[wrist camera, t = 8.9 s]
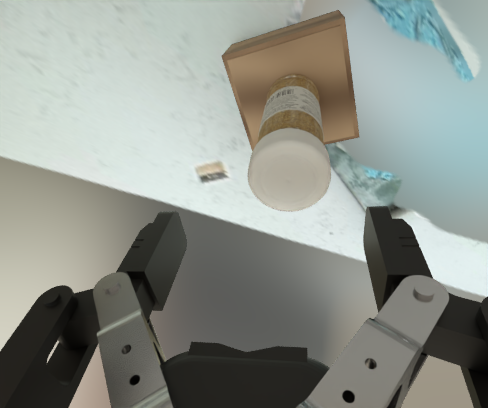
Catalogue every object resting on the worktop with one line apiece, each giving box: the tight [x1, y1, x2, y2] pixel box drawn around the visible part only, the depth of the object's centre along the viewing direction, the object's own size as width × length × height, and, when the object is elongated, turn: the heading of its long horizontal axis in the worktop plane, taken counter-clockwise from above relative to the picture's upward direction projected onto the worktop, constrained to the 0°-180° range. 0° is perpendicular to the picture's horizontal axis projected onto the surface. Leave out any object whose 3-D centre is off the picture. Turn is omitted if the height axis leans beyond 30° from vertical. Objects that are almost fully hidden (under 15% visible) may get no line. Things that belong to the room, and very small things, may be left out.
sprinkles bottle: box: [248, 74, 331, 211], centre depth 23 cm, size 5×5×14 cm
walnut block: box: [222, 10, 359, 151], centre depth 31 cm, size 10×10×5 cm
